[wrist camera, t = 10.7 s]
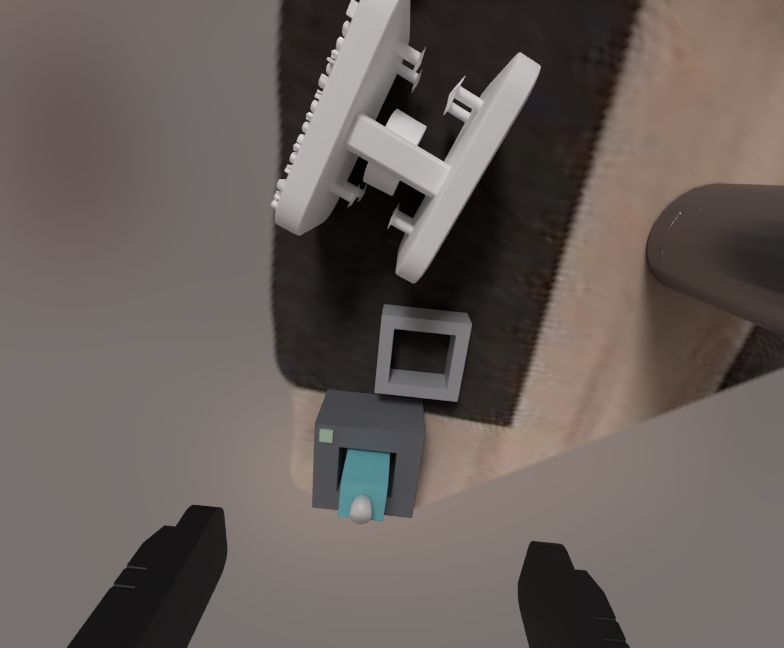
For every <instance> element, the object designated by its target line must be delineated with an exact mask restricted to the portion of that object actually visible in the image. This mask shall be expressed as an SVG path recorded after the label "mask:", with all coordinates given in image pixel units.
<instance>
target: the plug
mask: <svg viewBox="0 0 784 648" xmlns="http://www.w3.org/2000/svg"><path fill="white" fill-rule="evenodd" d="M389 461H390V452H382V451H372V450H363V449H353V448H348V451H347V456H346V460H345V465H344V469H343V474H342V479H341V487H340V498H339V509H338V516H342V517H350V518H351V520H353V521H354V522H355V523H358V524H364V523H367V522H368V521H369V520H376V521H383V516H384V510H385V503H386V496H387V489H388V477H389Z"/></svg>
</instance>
